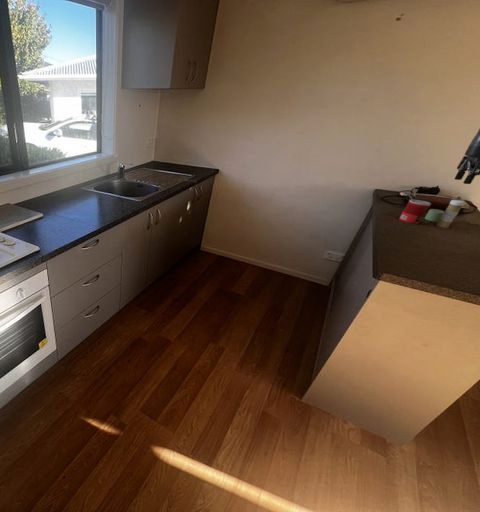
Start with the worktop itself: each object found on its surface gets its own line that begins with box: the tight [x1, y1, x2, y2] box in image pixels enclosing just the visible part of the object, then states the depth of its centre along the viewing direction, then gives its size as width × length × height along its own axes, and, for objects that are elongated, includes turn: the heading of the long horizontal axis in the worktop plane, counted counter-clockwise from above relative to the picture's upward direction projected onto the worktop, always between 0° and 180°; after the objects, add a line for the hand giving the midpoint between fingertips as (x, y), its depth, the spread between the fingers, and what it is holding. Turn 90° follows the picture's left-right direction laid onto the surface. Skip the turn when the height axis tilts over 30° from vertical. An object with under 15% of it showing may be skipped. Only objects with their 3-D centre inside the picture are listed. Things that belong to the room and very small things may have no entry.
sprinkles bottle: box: [435, 199, 466, 229], centre depth 143 cm, size 5×5×14 cm
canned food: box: [398, 199, 432, 225], centre depth 149 cm, size 8×8×11 cm
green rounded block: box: [424, 208, 445, 223], centre depth 153 cm, size 6×6×5 cm
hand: (461, 181), depth 134 cm, fingers open, 8 cm apart
